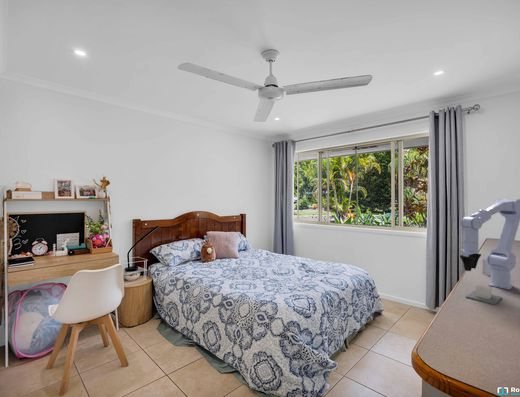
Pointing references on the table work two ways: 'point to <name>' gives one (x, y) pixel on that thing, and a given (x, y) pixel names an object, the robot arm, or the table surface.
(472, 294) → the gray mat
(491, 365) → the table surface
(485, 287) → the cream cube
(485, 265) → the medicine box
